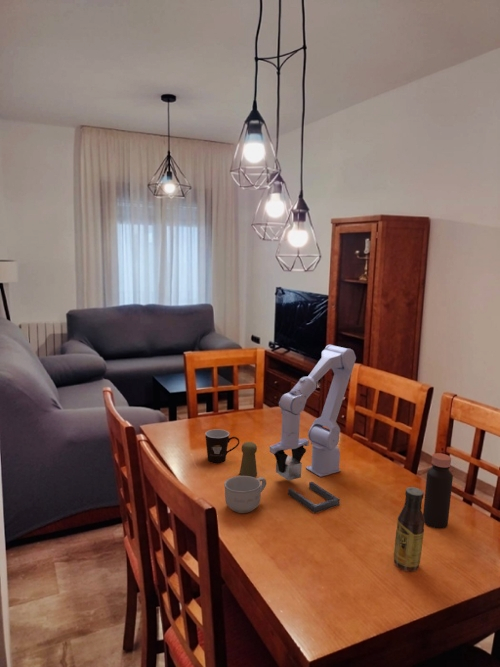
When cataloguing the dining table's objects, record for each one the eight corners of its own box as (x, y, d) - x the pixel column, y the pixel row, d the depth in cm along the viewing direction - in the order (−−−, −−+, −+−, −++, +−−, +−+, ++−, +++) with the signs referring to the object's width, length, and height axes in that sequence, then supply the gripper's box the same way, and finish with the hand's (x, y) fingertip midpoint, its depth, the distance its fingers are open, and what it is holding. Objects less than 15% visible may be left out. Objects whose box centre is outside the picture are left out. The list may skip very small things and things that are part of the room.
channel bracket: (311, 487, 158) (311, 481, 157) (339, 505, 147) (339, 499, 146) (287, 494, 152) (288, 488, 152) (314, 513, 142) (315, 507, 141)
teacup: (233, 520, 136) (234, 494, 135) (217, 503, 146) (218, 478, 145) (276, 510, 143) (277, 484, 141) (258, 493, 152) (259, 469, 151)
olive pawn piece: (255, 479, 162) (256, 447, 160) (237, 476, 163) (238, 445, 162) (258, 471, 168) (259, 441, 166) (241, 469, 169) (242, 439, 167)
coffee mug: (200, 462, 174) (201, 435, 172) (211, 453, 182) (211, 427, 180) (230, 468, 170) (230, 441, 168) (239, 459, 177) (240, 433, 176)
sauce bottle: (389, 557, 122) (395, 483, 119) (413, 557, 122) (420, 483, 119) (399, 574, 115) (406, 496, 112) (424, 574, 116) (432, 496, 113)
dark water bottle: (417, 521, 139) (423, 455, 136) (431, 514, 143) (437, 449, 140) (439, 532, 134) (446, 463, 131) (452, 524, 138) (459, 458, 135)
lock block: (287, 468, 164) (288, 454, 163) (300, 477, 158) (301, 462, 157) (275, 471, 161) (276, 457, 161) (288, 480, 155) (289, 465, 155)
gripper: (300, 423, 165) (298, 461, 167) (264, 430, 157) (263, 469, 159) (313, 429, 159) (311, 468, 161) (277, 437, 151) (275, 478, 153)
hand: (288, 469), depth 159 cm, fingers closed on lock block, 5 cm apart
